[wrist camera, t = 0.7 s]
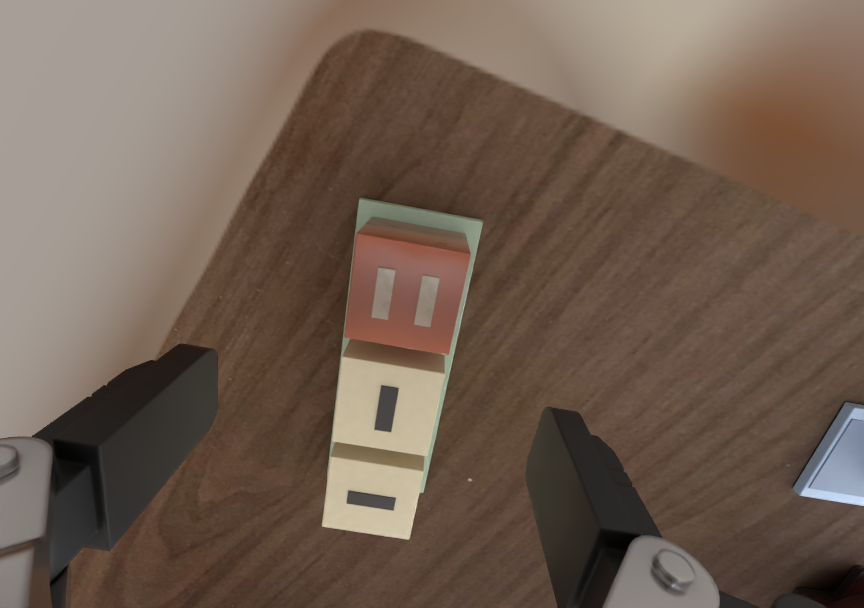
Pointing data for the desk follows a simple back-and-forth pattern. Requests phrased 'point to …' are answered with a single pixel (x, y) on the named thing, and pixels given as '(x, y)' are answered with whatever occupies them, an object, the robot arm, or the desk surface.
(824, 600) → the mate gourd
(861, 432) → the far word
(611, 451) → the robot arm
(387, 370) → the near word
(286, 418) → the desk surface
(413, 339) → the orange cube with stripes
